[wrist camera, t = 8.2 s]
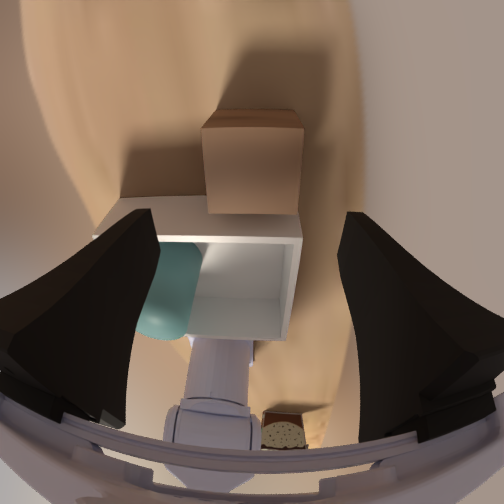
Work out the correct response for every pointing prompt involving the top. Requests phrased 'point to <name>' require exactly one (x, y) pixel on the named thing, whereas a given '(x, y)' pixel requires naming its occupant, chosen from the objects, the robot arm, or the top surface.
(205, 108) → the top surface
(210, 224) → the tote
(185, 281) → the teal cylinder
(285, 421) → the food container
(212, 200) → the walnut cube
